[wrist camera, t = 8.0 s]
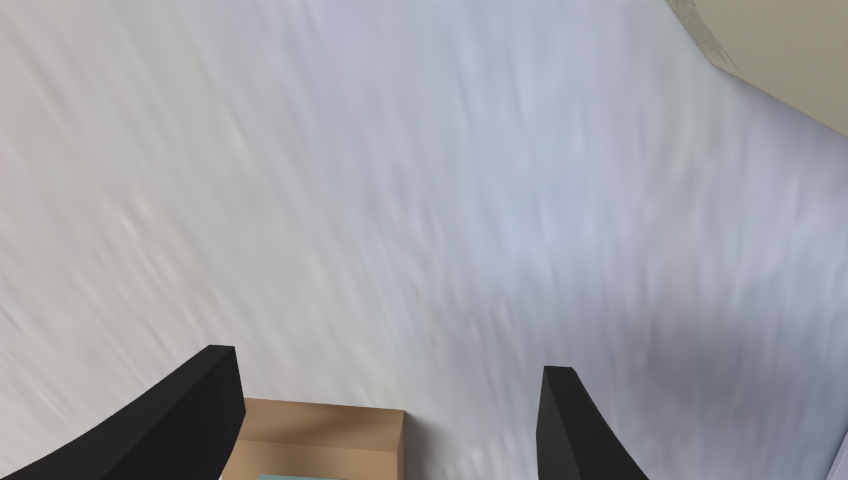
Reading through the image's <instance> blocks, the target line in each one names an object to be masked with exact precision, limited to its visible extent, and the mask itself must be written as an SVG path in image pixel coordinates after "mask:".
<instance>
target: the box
mask: <svg viewBox="0 0 848 480" xmlns="http://www.w3.org/2000/svg"><path fill="white" fill-rule="evenodd" d="M666 1H667V3H668V4H669V6H670V7H671V9H672V10H673V11H674V13H675V14H676V16H677V17H678V19H679V20H680V21H681V23H682V24H683V26H684V27H685V29H686V30H687V31H688V33H689V34H690V35H691V37H692V38H693V40H694V41H695V42H696V44H697V45H698V47H699V48H700V49H701V51H702V52H703V54H704V55H705V56H706V58H707V59H708V60H709V61H710V63H711V64H713V65H714V66H716V67H718V68H720V69H722V70H724V71H726V72H728V73H729V74H732V75H733V76H735V77H737V78H739V79H741V80H743V81H745V82H747V83H748V84H750V85H752V86H754V87H756V88H757V89H759V90H761V91H763V92H765V93H767V94H769V95H770V96H772V97H774V98H776V99H777V100H779V101H781V102H783V103H784V104H786V105H788V106H790V107H792V108H793V109H795V110H797V111H799V112H801V113H803V114H804V115H806V116H808V117H810V118H812V119H813V120H815V121H817V122H819V123H821V124H823V125H824V126H826V127H828V128H830V129H831V130H833V131H835V132H837V133H839V134H840V135H842V136H844V137H846V138H848V0H666Z"/></svg>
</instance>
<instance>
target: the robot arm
mask: <svg viewBox="0 0 848 480" xmlns="http://www.w3.org/2000/svg"><path fill="white" fill-rule="evenodd" d="M245 415H246V408H245V402H244V397H243V391H242V386H241V380H240V374H239V369H238V363H237V358H236V352H235V347H234V346H222V345H209V346H207V347H206V348H204V349H203V350H201V351H200V352H199V353H197V354H196V355H194V356H193V357H192V358H190V359H189V360H188V361H186V362H185V363H184V364H182V365H181V366H180V367H179V368H177V369H176V370H175V371H173V372H172V373H171V374H169V375H168V376H167V377H165V378H164V379H163V380H161V381H160V382H159V383H157V384H156V385H154V386H153V387H152V388H150V389H149V390H148V391H146V392H145V393H144V394H142V395H141V396H140V397H138V398H137V399H135V400H134V401H132V402H131V403H130V404H128V405H127V406H125V407H124V408H122V409H121V410H119V411H118V412H116V413H115V414H113V415H112V416H110V417H109V418H107V419H106V420H105V421H103V422H102V423H100V424H99V425H97V426H96V427H94V428H92V429H91V430H89V431H88V432H86V433H84V434H83V435H81V436H80V437H78V438H76V439H75V440H73V441H71V442H69V443H68V444H66V445H64V446H63V447H61V448H59V449H57V450H56V451H54V452H52V453H50V454H49V455H47V456H45V457H43V458H41V459H39V460H37V461H35V462H33V463H31V464H29V465H27V466H25V467H24V468H22V469H20V470H18V471H16V472H14V473H12V474H10V475H8V476H6V477H4V478H2V479H0V480H219V478H220V476H221V474H222V472H223V470H224V468H225V466H226V464H227V462H228V460H229V458H230V456H231V454H232V451H233V449H234V446H235V443H236V441H237V438H238V435H239V432H240V429H241V426H242V424H243V421H244V418H245ZM536 443H537V463H538V477H539V480H649V479H648V478H647V476H646V475H645V474H644V473H643V472H642V470H641V469H640V468H639V466H638V465H637V464H636V463H635V461H634V460H633V459H632V458H631V456H630V455H629V454H628V452H627V451H626V450H625V448H624V447H623V446H622V444H621V443H620V441H619V440H618V439H617V437H616V436H615V434H614V433H613V431H612V430H611V428H610V427H609V426H608V424H607V423H606V421H605V420H604V418H603V417H602V415H601V414H600V412H599V410H598V409H597V407H596V406H595V404H594V402H593V401H592V399H591V398H590V396H589V394H588V393H587V391H586V389H585V387H584V386H583V384H582V382H581V380H580V378H579V377H578V375H577V373H576V371H575V370H574V369H573V368H572V367H558V366H544V371H543V380H542V388H541V396H540V404H539V413H538V421H537V429H536ZM826 480H848V431H847V434H846V436H845V438H844V440H843V443H842V445H841V447H840V449H839V452H838V454H837V456H836V458H835V460H834V463H833V465H832V467H831V469H830V472H829V474H828V476H827V478H826Z"/></svg>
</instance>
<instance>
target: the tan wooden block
mask: <svg viewBox="0 0 848 480" xmlns="http://www.w3.org/2000/svg"><path fill="white" fill-rule="evenodd" d="M244 402H245V408H246V415H245V418H244V421H243V424H242V426H241V429H240V432H239V435H238V438H237V441H236V443H235V446H234V449H233V451H232V454H231V456H230V458H229V460H228V462H227V464H226V466H225V468H224V470H223V472H222V474H221V475H222V480H257V479H258V477H259V474H264V475H280V476H296V477H311V478H327V479H343V480H404V410H395V409H382V408H369V407H356V406H343V405H330V404H317V403H304V402H291V401H278V400H266V399H253V398H244Z"/></svg>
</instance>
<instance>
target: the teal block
mask: <svg viewBox="0 0 848 480" xmlns="http://www.w3.org/2000/svg"><path fill="white" fill-rule="evenodd" d="M257 480H343V479H327V478H311V477H296V476H280V475H264V474H259V477H258V479H257Z"/></svg>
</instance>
